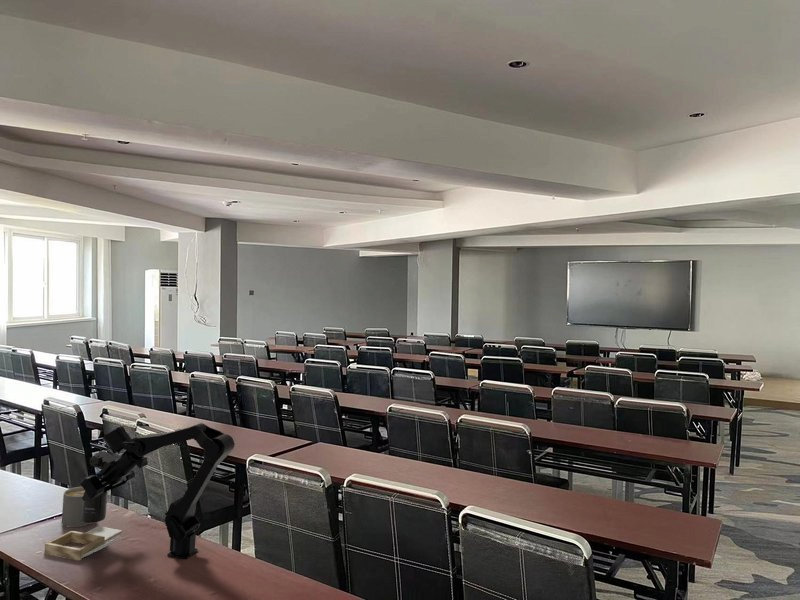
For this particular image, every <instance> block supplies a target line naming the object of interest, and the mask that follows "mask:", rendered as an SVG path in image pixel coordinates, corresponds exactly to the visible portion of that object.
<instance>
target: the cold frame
mask: <svg viewBox="0 0 800 600" xmlns="http://www.w3.org/2000/svg"><path fill="white" fill-rule="evenodd" d="M69 542H70V543H75V542H76V544H80V543H81V544H82V545H84V546H82V547H80V548H77V547H71V546H68V544H70V543H69ZM105 542H106V541H105V537H103V536H98V535H92V534H87V533H86V532H81V531H75V530H70V531H68V532H65V533H64V534H62V535H60V536H58V537H55V538H53V539H52V540H49V541H48V542H45V543H44V553H45V554H44V553H43V554H44V555H48V554H50V555H49V556H53V555H55V556H54V557H58V556H60V557H59V558H63V557H65V558H64V559H68V558H69V560H73V559H74V561H78V560H79V561H81V560H83V559H85V558H86V556H85V558H84V557H83V559H82V558H81V556H82V555H84V554H85V553H87V552H89V551H91V550H93V549H94V548H96V547H98V546H100V545H102V544H104V543H105ZM67 543H68V544H67ZM65 544H66V545H65ZM86 544H87V545H86ZM63 545H64V546H63ZM88 556H91V554H89V555H87V557H88Z"/></svg>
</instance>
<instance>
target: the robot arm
mask: <svg viewBox="0 0 800 600" xmlns="http://www.w3.org/2000/svg"><path fill="white" fill-rule="evenodd" d="M102 440H103V442H104V443H105V444H106V446H107V447H108V448H109V450H110V451H111V452H112V454H114V455H115V454H118V455H120V454H121V455H120V456H119V457H117V458H116V457H115V456H113V455H111V453H109V452H108V451H105V450H102V451H98V452H95V454H94V455H92V456H91V457H90V458H89V464H90V466H92V467H93V468H97V469H99V474H100V475H102V476H101V478H102V480H99V479H100V478H99V477H98V475H96V474H92V475H89V476H87V477H84V478H83V479H82V480H81V481H80V482H79V485H80V487H83V489H84V490H85V493H84V495H83V497H82V499H83V501H86V500H88V499H91V498H94V497H97V496H99V495H102V493H103V492H104V488H105V489H106V490H107V492H108V491H111V490H113V489H116V488H118V487H121V486H123V485H126V484H128V483H129V482H131V481H133V480H134V479H135V478H136V472H134V469H135V468H136V467H138V468H139V469H142V468H145V467H146V466H148V465H149V463H148V457H147V455H150V454H152V453H154V452H156V451H158V450H161V449H163V448H164V447H168V446H171V445H175V444H179V443H182V442H186V441H187V442H188V441H190V440H194V441H196V443H197V444H198V446H199V447H200V448H201V449H203V451H204V452H203V461H202V462H201V465H200V466H199V468H198V469H197V471H196V473H195V475H194V476H193V478H192V479H191V482H190V483H189V485H188V487H187V489H186V490H185V492H184V494H183V496H181V497H178V499H176V500H174V501H173V502H171V503H170V505H169V506H168V509H167V511H166V512H165V513H164V516H165V517H164V524H165V526H166V529H167V533H168V537H169V538H170V539H169V552H168V553H167V557H172V558H176V559H177V558H179V559H183V560H186V559H187V560H188V558H191V556H193V555H194V554H195V553H197V552H198V548H196V540H197V539H196V538H197V532H196V531H197V530H198V529H199V527H200V525H201V522H200V520H199V519H198V517H196V515H195V514H196V511H197V503H198V501H199V499H200V497H201V496H202V493H203V492H204V490H205V489H206V487H207V486H208V483H209V481H210V480H211V478H212V476H213V474H214V473H215V471H216V469H217V468H218V466H219V465H220V464H221V463H222V462H223V461H224V460H225V459H226V458H227V457H228V456H229V455H230V453H231V452H232V451H233V450H234V448H235V445H236V444H235V440H234V438H233V437H232V436H231V435H229V434H227V433H224V432H222V431H220V430H218V429H215V428H212V427H210V426H209V425H207V424H205V423H202V422H201V423H200V422H199V423H197V424H194V425H192V426H188V427H184V428H181V429H177V430H173V431H169V432H166V433H159V432H157V433H156V432H155V433H149V434H145V435H142V436H139V437H138V436H137V437H134V438H131V436H130V435H129V433H127V431H126V429H125V427H124V426H123V425H120V426H117V427H116V428H114V429H113V430H112V431H110V432H108V433H106V435H104V436H103V437H102ZM145 456H146V457H145ZM104 483H105V484H104ZM196 551H197V552H196Z"/></svg>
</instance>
